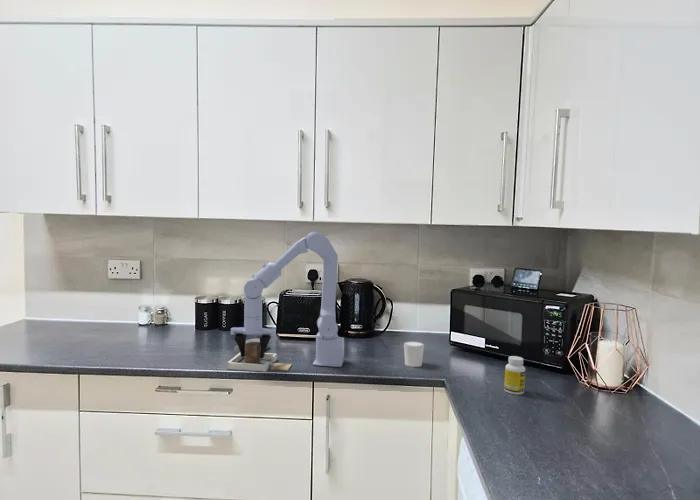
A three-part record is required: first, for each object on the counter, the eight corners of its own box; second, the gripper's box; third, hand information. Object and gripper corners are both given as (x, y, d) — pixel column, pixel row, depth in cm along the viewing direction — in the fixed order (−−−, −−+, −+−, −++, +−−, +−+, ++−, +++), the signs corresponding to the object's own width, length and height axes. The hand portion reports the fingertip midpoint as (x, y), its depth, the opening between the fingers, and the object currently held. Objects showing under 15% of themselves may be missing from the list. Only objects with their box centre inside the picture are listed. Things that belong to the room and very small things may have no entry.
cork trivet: (291, 365, 147) (291, 364, 147) (287, 370, 142) (287, 369, 142) (275, 364, 148) (275, 363, 148) (270, 369, 142) (270, 368, 142)
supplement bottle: (522, 396, 125) (523, 362, 124) (502, 392, 128) (503, 358, 127) (526, 390, 130) (527, 357, 129) (506, 386, 132) (508, 354, 132)
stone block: (232, 359, 158) (258, 356, 156) (230, 346, 158) (256, 342, 156) (246, 351, 170) (271, 348, 168) (244, 339, 170) (269, 335, 168)
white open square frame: (276, 359, 153) (276, 353, 153) (265, 371, 141) (265, 365, 140) (240, 357, 154) (240, 351, 154) (226, 369, 142) (226, 362, 142)
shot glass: (411, 359, 156) (412, 340, 156) (427, 364, 152) (428, 344, 151) (399, 363, 152) (399, 343, 151) (415, 368, 147) (416, 347, 146)
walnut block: (260, 362, 149) (260, 342, 149) (256, 366, 145) (256, 345, 145) (248, 362, 150) (249, 341, 149) (244, 365, 146) (244, 344, 145)
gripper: (278, 314, 150) (277, 354, 151) (236, 312, 151) (235, 352, 152) (272, 318, 143) (271, 360, 144) (228, 316, 144) (227, 358, 145)
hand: (252, 356), depth 147 cm, fingers open, 6 cm apart
